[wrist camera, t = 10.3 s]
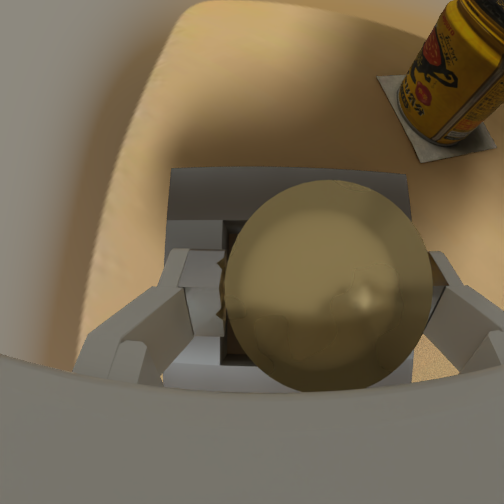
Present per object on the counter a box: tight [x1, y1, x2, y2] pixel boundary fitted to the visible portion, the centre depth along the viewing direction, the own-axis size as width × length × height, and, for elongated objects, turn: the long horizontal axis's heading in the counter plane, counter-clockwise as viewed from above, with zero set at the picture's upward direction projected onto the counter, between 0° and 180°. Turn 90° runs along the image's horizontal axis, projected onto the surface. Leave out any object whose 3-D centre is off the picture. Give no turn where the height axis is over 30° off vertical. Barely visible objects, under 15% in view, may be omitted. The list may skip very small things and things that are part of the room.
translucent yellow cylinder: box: [225, 180, 433, 392], centre depth 11 cm, size 4×4×10 cm
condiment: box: [376, 0, 504, 163], centre depth 13 cm, size 7×8×12 cm
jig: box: [163, 167, 414, 393], centre depth 14 cm, size 24×12×4 cm, turn 179°
